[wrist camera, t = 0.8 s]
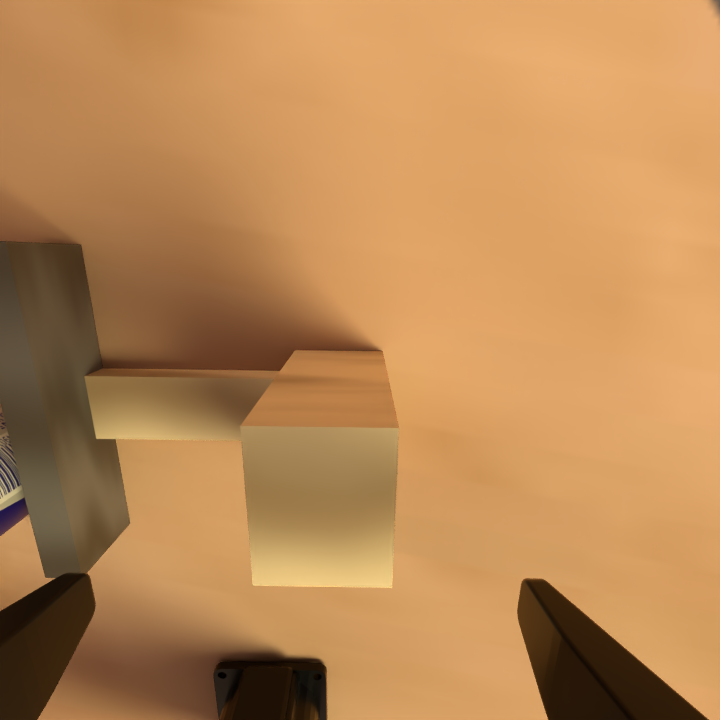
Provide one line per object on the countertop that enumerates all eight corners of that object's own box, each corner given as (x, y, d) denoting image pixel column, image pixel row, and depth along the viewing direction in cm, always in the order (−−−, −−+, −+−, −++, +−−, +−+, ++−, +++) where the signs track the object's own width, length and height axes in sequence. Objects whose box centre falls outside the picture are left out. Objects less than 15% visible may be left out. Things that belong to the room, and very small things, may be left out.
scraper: (377, 526, 20) (387, 701, 12) (99, 522, 20) (-70, 693, 12) (385, 248, 16) (406, 240, 8) (43, 244, 16) (-254, 231, 8)
